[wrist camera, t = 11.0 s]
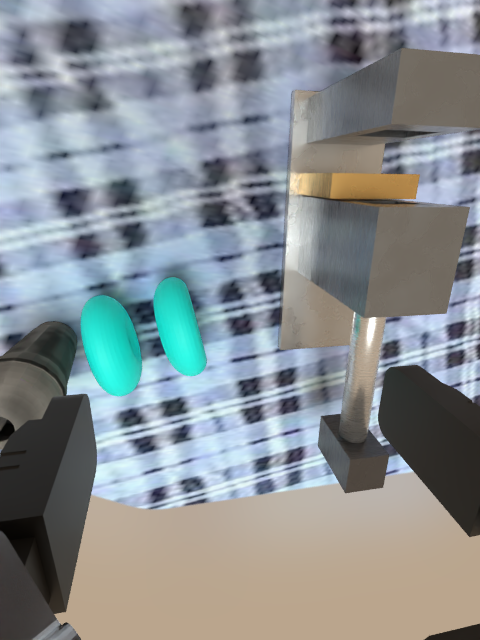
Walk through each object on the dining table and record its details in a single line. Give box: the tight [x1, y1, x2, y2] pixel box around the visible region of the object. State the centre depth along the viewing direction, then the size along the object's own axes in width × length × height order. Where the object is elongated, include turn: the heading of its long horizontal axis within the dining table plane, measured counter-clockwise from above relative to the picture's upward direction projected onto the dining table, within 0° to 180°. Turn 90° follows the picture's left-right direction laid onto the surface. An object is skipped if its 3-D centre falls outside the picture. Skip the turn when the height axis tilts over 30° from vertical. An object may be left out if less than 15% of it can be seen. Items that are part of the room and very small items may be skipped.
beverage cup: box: [0, 321, 77, 449], centre depth 31 cm, size 7×7×20 cm
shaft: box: [318, 312, 389, 493], centre depth 36 cm, size 26×4×7 cm, turn 179°
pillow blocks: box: [278, 48, 480, 350], centre depth 35 cm, size 27×10×16 cm, turn 179°
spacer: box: [298, 173, 420, 199], centre depth 36 cm, size 2×8×8 cm, turn 89°
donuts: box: [81, 277, 207, 396], centre depth 37 cm, size 10×10×10 cm
